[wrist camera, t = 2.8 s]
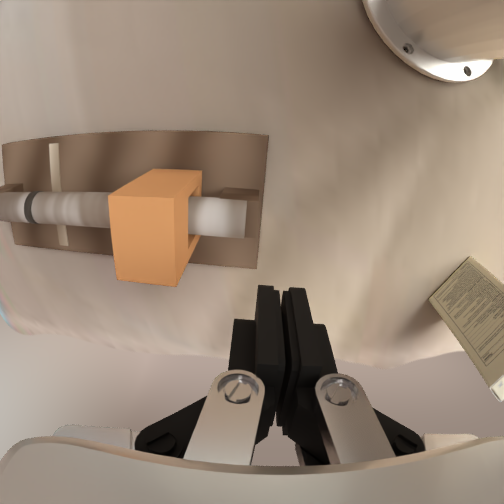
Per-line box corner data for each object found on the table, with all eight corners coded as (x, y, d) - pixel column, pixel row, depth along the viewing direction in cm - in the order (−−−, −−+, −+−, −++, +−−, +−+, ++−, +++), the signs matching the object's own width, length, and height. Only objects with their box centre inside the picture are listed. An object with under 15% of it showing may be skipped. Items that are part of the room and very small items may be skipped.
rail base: (268, 135, 21) (269, 141, 16) (256, 263, 25) (254, 299, 20) (8, 143, 21) (-30, 154, 16) (20, 240, 25) (-11, 263, 20)
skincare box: (444, 319, 27) (497, 406, 16) (426, 298, 26) (485, 392, 15) (486, 277, 25) (554, 352, 14) (472, 252, 24) (549, 329, 13)
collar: (202, 170, 20) (173, 198, 14) (200, 236, 22) (176, 286, 16) (153, 168, 20) (108, 195, 14) (154, 232, 22) (116, 279, 16)
